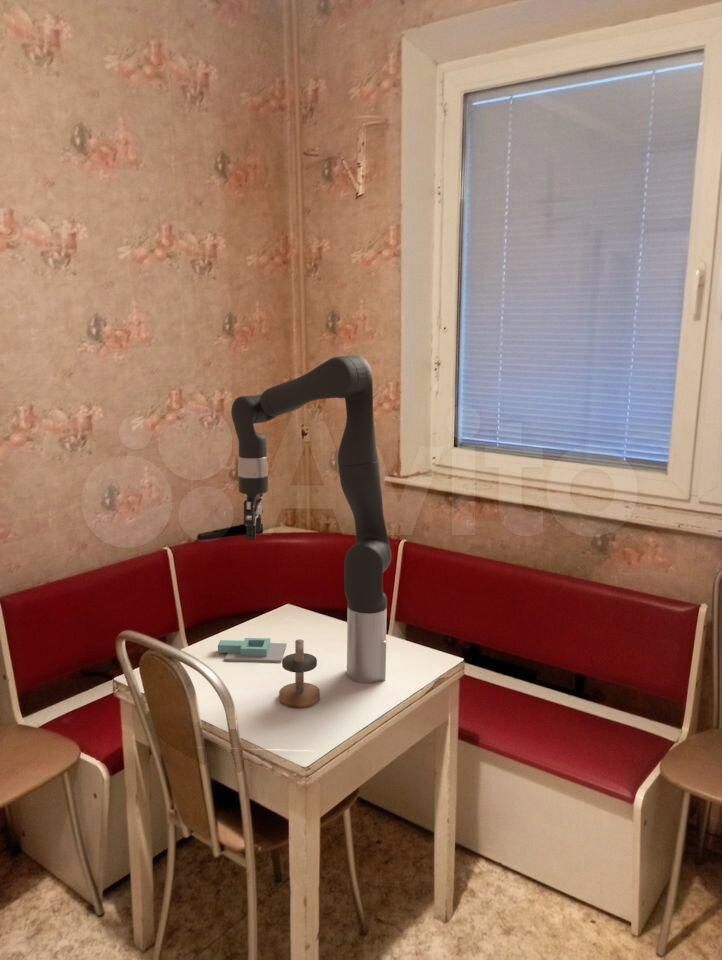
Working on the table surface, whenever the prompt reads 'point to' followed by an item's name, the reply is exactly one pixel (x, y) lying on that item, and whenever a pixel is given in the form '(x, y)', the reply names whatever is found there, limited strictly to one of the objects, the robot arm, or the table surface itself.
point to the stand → (299, 679)
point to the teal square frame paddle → (246, 646)
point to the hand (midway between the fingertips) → (254, 535)
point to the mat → (273, 655)
